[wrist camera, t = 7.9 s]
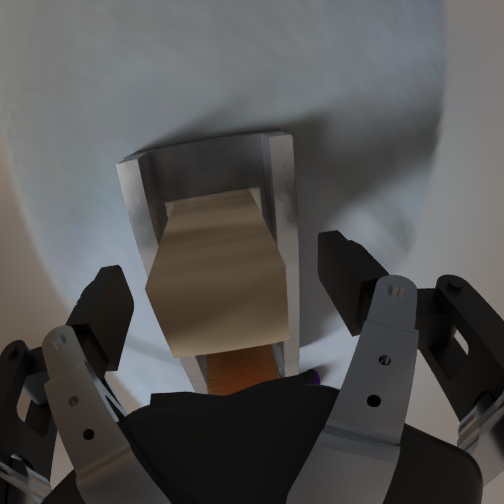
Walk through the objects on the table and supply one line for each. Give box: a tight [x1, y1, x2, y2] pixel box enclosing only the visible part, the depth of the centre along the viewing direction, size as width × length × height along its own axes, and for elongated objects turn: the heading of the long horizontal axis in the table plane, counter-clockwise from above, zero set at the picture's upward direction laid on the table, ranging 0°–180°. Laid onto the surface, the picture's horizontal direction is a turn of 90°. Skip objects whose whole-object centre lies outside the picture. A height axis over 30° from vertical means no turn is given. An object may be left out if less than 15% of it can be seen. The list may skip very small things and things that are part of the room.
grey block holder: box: [116, 130, 300, 396], centre depth 14 cm, size 17×8×8 cm, turn 6°
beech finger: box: [145, 194, 289, 358], centre depth 12 cm, size 4×4×7 cm
